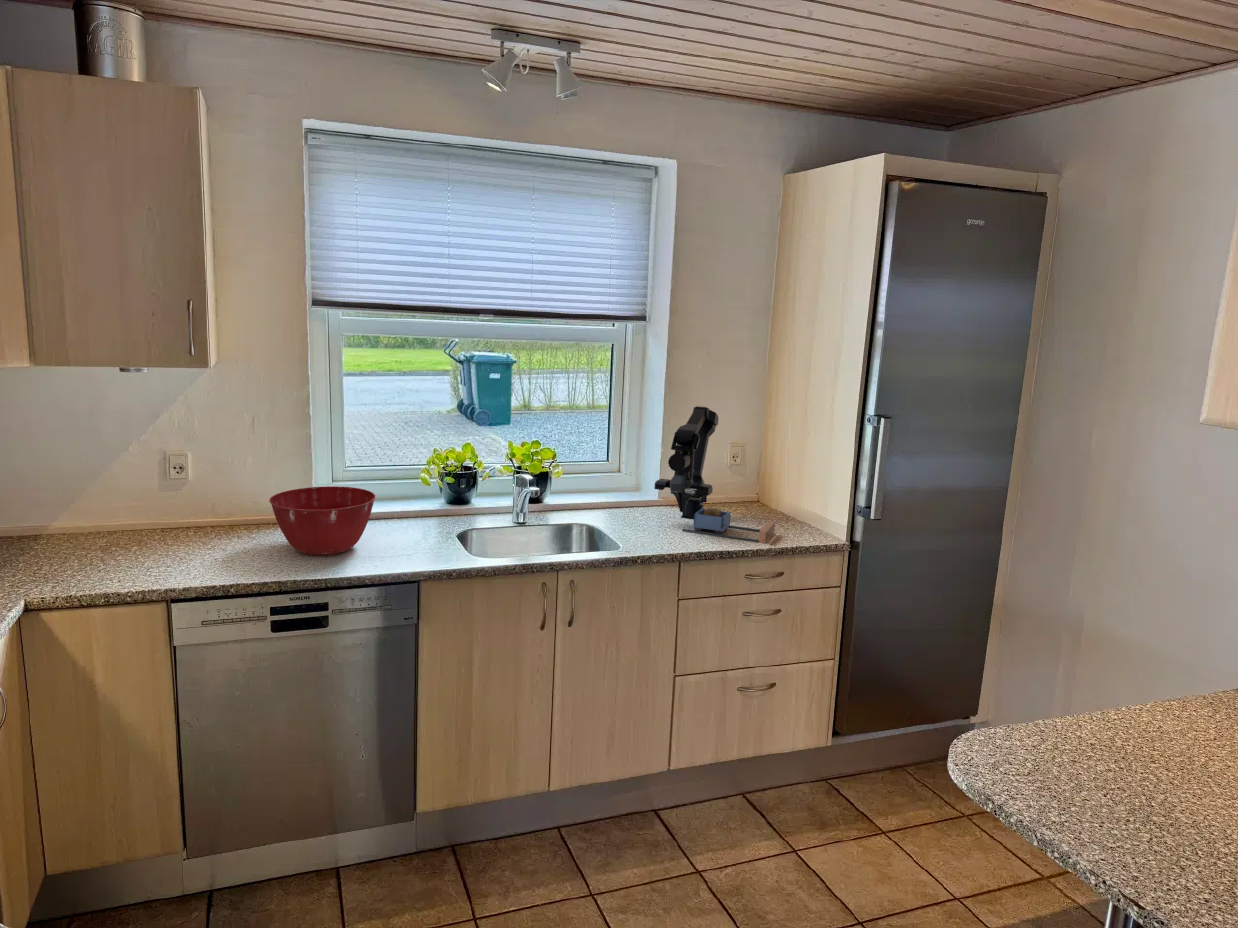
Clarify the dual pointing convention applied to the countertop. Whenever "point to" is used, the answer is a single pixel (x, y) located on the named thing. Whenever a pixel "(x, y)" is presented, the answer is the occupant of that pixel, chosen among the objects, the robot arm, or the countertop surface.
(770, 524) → the track
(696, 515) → the box
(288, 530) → the mixing bowl
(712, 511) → the block
